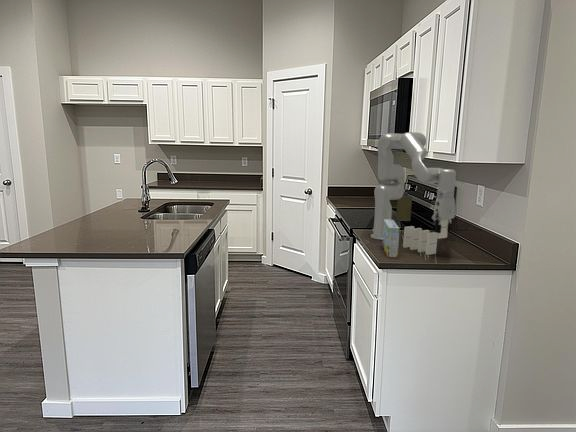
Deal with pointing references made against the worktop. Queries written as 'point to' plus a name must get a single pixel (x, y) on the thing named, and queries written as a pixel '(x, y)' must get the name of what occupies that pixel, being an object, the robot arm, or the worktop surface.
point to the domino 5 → (443, 229)
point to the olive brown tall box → (404, 207)
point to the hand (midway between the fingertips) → (442, 231)
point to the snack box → (390, 238)
